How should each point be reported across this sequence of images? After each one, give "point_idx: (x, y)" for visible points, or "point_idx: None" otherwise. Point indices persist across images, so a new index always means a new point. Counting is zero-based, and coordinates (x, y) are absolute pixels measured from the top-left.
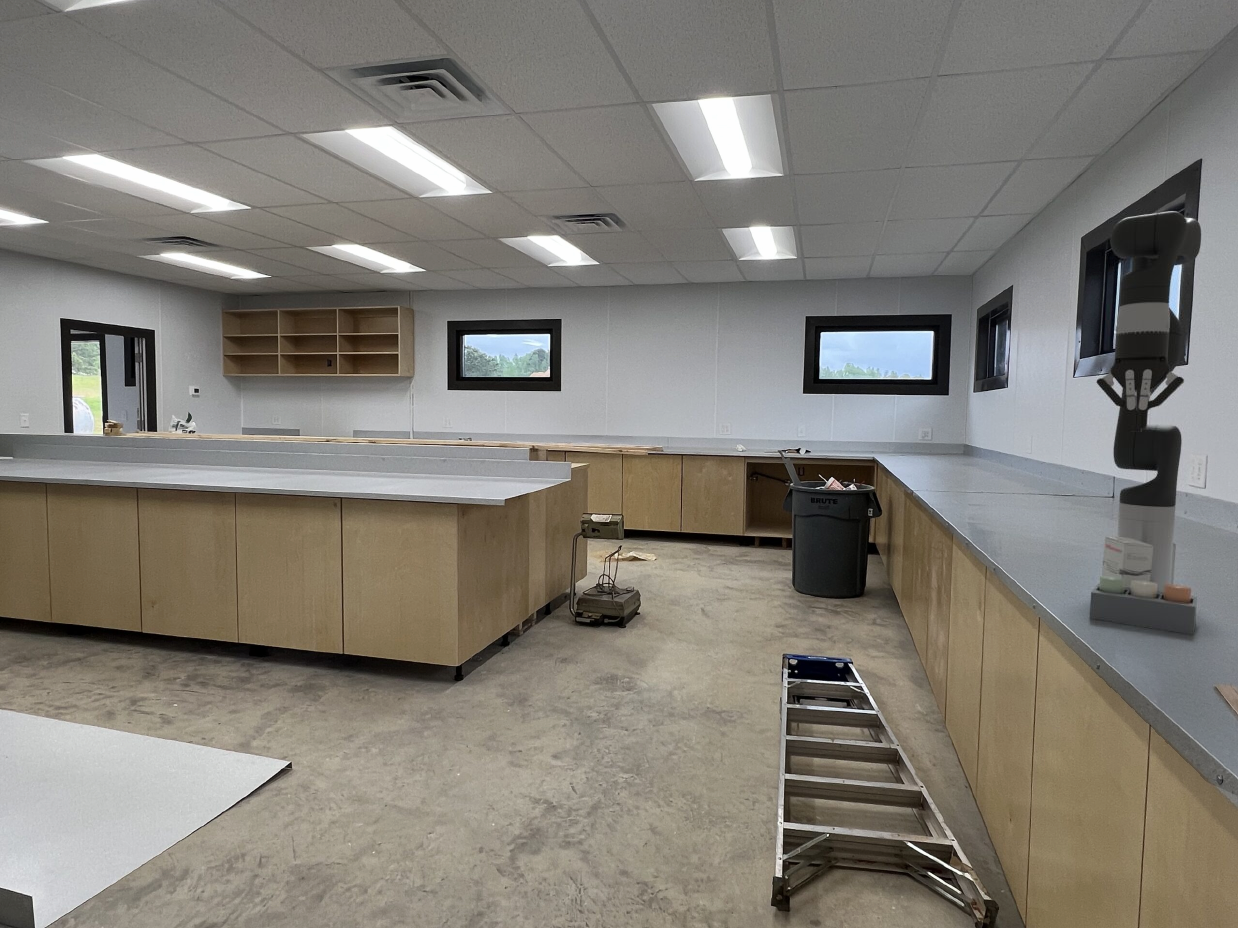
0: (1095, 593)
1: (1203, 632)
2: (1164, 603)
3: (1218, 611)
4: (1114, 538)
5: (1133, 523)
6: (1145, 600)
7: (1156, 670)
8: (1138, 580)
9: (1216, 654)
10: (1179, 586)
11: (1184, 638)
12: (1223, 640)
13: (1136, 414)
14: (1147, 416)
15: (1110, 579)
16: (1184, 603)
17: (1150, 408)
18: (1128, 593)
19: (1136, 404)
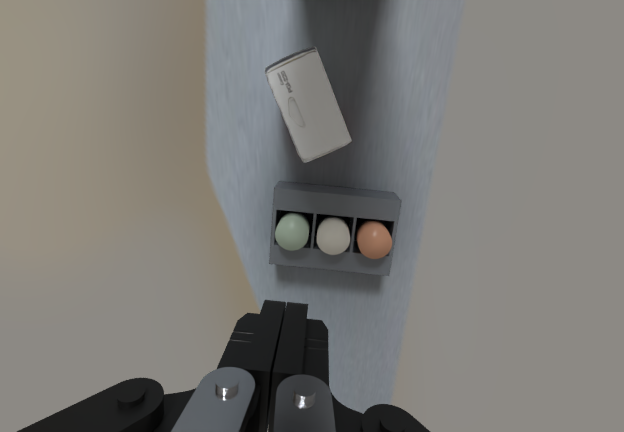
0: (274, 263)
1: (395, 240)
2: (355, 271)
3: (437, 81)
4: (282, 102)
5: None
6: (334, 269)
7: None
8: (326, 225)
9: (393, 333)
10: (378, 238)
11: (371, 285)
12: (411, 267)
13: (268, 422)
14: (328, 367)
15: (289, 245)
16: (378, 262)
17: (343, 409)
18: (314, 232)
19: (248, 408)
